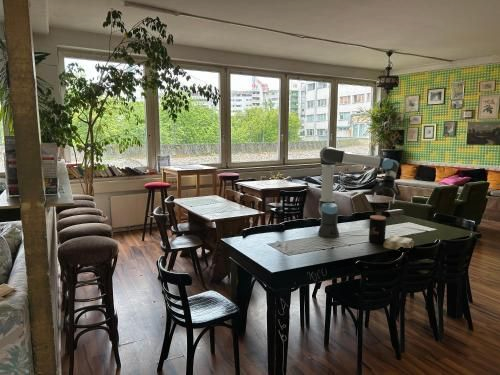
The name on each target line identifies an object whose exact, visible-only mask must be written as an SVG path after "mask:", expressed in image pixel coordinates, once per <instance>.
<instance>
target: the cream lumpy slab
mask: <svg viewBox="0 0 500 375" xmlns="http://www.w3.org/2000/svg"><path fill="white" fill-rule="evenodd" d="M414 243H415V241H414V240H413V238H409V237H404V236H399V235H398V236H396V235H389V236H388V237H387V238H385V242H384V243H383V248H385V249H390V250H396V251H398V250H397V249H398V248H400V247H403V248H411V247H412V248H414V245H415V244H414Z"/></svg>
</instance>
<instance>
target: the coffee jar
mask: <svg viewBox="0 0 500 375" xmlns="http://www.w3.org/2000/svg"><path fill="white" fill-rule="evenodd" d="M369 218H370V219H369V225H368V227H369V229H368V241H369V243H370V244H374V245H384V242H385V241H386V230H387V229H386V227H387V217H386V216H385V215H378V214H376V215H370V216H369Z"/></svg>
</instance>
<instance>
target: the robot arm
mask: <svg viewBox="0 0 500 375" xmlns="http://www.w3.org/2000/svg"><path fill="white" fill-rule="evenodd" d="M319 158H320V161H319V162H320V166H321V167H322V168H321V195H320V196H321V197H320V198H319V201H318V207H317V210H318V213H319V214H320V226H319V229H318V233H317V236H319V237H320V238H328V239H335V238H338V237H339V236H340V232H339V228H338V217H339V216H338V214H339V213H338V211H339V206H338V205H337V204H336V203H335V202H336V200H335V199H334V194H333V193H334V172H335V170H334V169H335V167H336V165H337V164H343V163H345V164H351V165H357V166H358V165H359V166H363V167H364V166H365V167H372V168H377V169H382V170H383V171H385V173H384V177H383V182H381V181H378V182H377V184H376V185H374V187H373V188H372V189H371V190H370V192H371V194H372V195H371V196H372V202H375V200H376V197H377V193H379V192H381V191H383V190H384V189H385V190H391V191H392V193H393V198H392V204H395V201H396V200H397V199H398V196H401V195H402V194H401V191H400V188H399V184H398V182H397V183H395V181H396V180H395V179H396V177H397V174H398V170H399V166H400V164H399V162H398V161H397V160H394V159H390V158H387V157H383V156H381V155H379V154H376V155H374V156H372V155H368V154H360V153H354V152H348V151H346V152H345V150H343V149H338V148H336V147H332V146H324V147H322V149H321V150H320V152H319ZM394 187H395V188H394ZM395 189H396V190H395Z"/></svg>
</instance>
